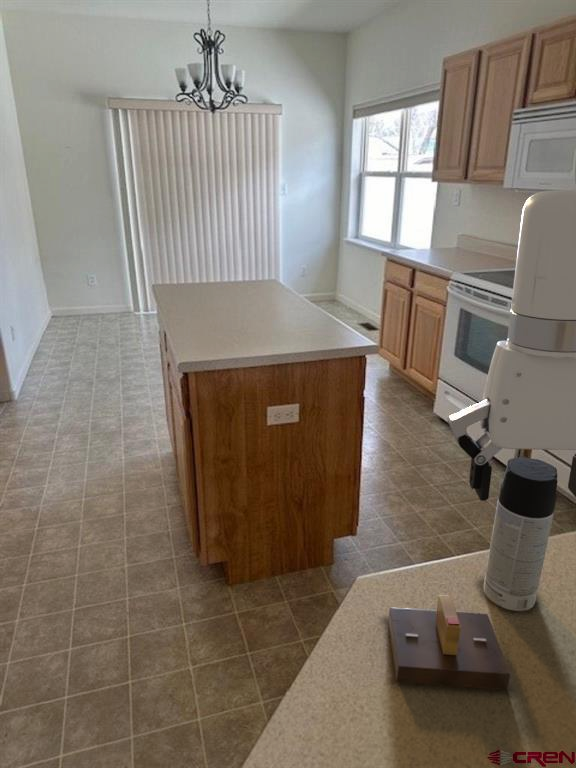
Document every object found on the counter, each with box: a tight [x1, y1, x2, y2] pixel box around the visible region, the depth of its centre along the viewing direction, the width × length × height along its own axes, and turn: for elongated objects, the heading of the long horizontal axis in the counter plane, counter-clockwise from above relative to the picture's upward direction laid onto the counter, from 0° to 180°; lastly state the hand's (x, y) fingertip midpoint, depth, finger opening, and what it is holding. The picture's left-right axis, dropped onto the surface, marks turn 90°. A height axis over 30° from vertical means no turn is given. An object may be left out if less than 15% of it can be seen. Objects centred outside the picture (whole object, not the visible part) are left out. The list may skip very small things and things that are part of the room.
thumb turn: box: [435, 594, 461, 655], centre depth 61 cm, size 5×2×4 cm, turn 176°
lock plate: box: [387, 607, 511, 690], centre depth 63 cm, size 12×9×3 cm
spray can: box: [483, 456, 559, 612], centre depth 69 cm, size 7×7×20 cm
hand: (528, 494), depth 55 cm, fingers open, 9 cm apart
